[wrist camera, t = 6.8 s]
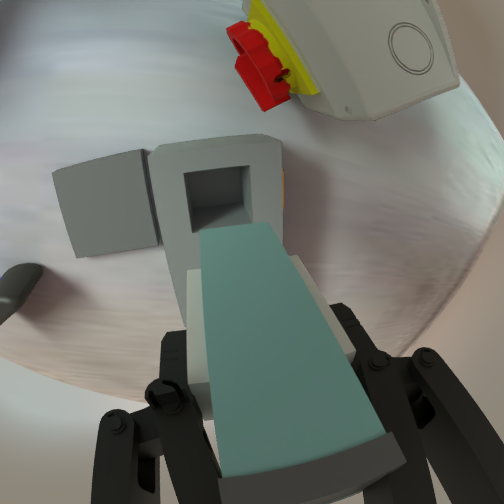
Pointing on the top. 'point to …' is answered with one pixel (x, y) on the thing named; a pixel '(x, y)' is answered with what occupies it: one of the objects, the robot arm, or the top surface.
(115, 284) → the top surface
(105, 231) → the block
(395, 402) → the robot arm
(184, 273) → the junction block
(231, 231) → the plug
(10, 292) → the dark grey curved block
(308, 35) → the electrical switch box
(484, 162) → the top surface
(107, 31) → the top surface
